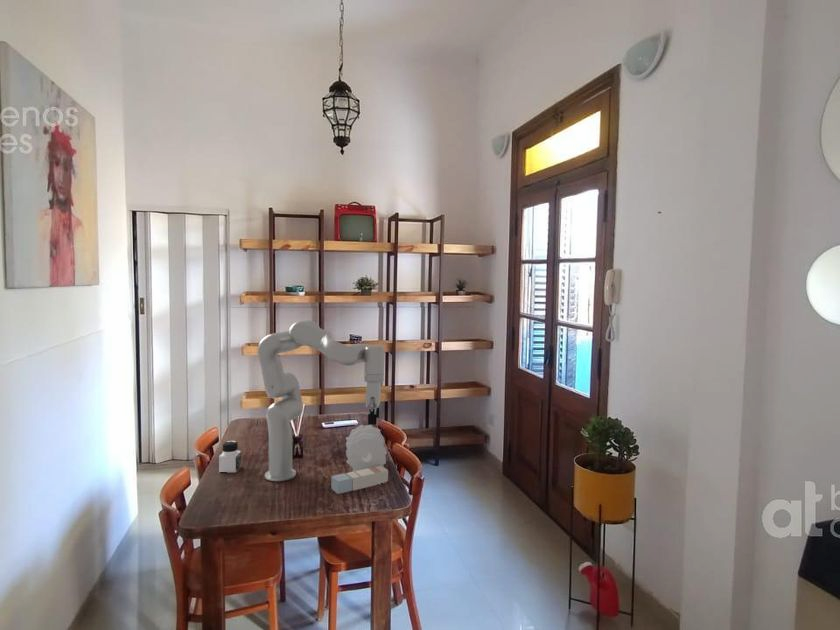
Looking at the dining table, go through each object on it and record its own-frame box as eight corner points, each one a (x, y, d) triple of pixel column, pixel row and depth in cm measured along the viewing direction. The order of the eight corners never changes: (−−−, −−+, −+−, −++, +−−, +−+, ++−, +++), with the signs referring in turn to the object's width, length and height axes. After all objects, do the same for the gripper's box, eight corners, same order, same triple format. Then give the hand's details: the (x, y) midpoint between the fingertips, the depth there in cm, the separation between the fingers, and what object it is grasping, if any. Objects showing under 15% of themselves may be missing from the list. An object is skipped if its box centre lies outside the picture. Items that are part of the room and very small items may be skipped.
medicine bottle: (236, 472, 208) (235, 444, 208) (218, 472, 208) (218, 444, 207) (241, 466, 216) (241, 439, 215) (224, 466, 215) (224, 439, 214)
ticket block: (345, 485, 197) (346, 472, 197) (380, 477, 206) (380, 465, 206) (352, 490, 193) (352, 478, 192) (387, 482, 201) (388, 469, 201)
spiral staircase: (373, 466, 230) (377, 485, 205) (338, 451, 227) (338, 468, 202) (390, 430, 231) (396, 445, 206) (356, 415, 228) (358, 428, 203)
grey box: (331, 488, 194) (331, 475, 194) (345, 485, 197) (345, 472, 197) (337, 494, 189) (337, 481, 189) (351, 490, 192) (352, 477, 192)
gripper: (367, 373, 199) (366, 414, 200) (361, 381, 182) (361, 427, 183) (385, 373, 199) (385, 415, 200) (381, 382, 182) (381, 427, 183)
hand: (373, 420), depth 192 cm, fingers open, 9 cm apart
